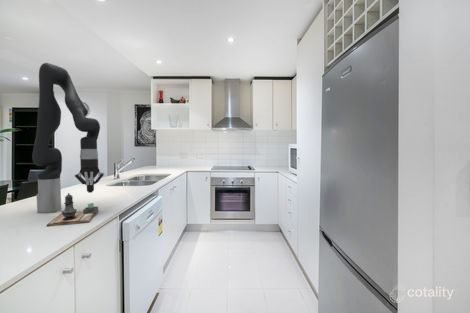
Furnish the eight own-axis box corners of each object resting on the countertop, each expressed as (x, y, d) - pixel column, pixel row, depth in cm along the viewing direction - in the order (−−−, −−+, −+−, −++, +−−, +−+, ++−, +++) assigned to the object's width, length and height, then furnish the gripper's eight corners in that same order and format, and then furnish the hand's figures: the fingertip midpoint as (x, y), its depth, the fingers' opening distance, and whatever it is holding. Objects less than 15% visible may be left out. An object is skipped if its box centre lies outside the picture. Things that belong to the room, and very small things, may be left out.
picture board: (46, 226, 99) (46, 219, 99) (62, 214, 116) (61, 208, 116) (89, 222, 105) (89, 216, 105) (98, 211, 122) (98, 205, 122)
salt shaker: (60, 221, 102) (59, 194, 102) (62, 217, 108) (61, 192, 107) (76, 219, 105) (75, 193, 105) (78, 215, 110) (77, 191, 110)
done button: (87, 210, 115) (86, 204, 115) (88, 209, 118) (88, 203, 118) (93, 210, 116) (92, 204, 116) (94, 208, 119) (94, 203, 118)
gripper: (105, 157, 121) (106, 190, 122) (76, 157, 117) (77, 191, 118) (102, 158, 114) (103, 192, 115) (71, 158, 110) (72, 194, 111)
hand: (90, 192), depth 116 cm, fingers closed
